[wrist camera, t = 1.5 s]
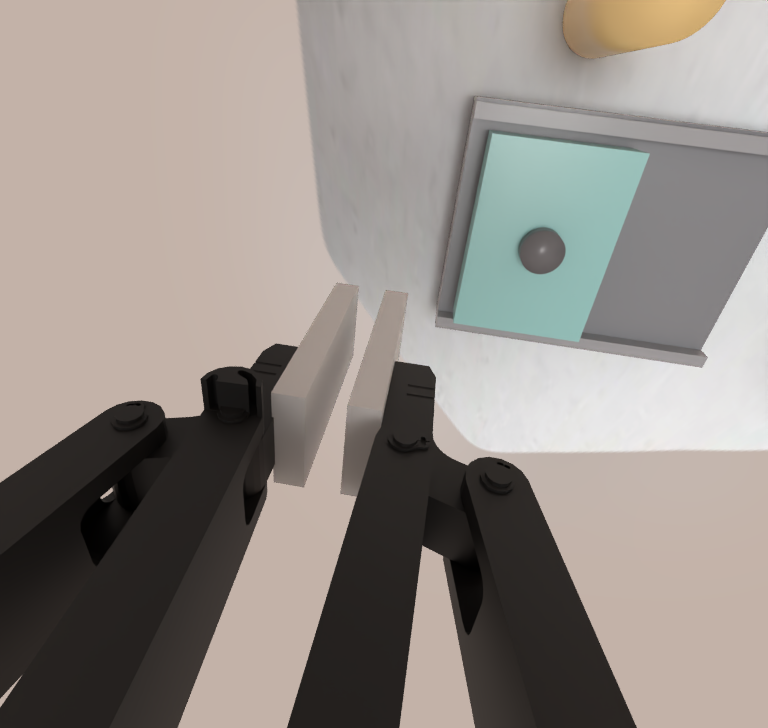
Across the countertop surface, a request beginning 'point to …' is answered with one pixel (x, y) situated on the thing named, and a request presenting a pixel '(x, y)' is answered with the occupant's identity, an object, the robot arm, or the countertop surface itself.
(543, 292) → the cover
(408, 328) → the countertop surface
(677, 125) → the housing
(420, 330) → the countertop surface
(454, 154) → the countertop surface
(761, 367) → the countertop surface
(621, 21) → the peg
